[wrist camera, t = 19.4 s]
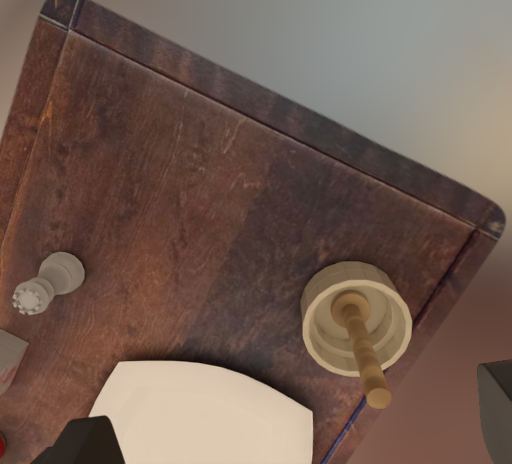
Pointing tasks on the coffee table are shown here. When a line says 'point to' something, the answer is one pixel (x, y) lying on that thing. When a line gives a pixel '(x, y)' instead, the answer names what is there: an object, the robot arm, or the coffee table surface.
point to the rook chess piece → (49, 283)
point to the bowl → (378, 324)
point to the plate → (202, 416)
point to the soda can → (2, 444)
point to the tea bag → (10, 358)
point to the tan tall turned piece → (361, 345)
